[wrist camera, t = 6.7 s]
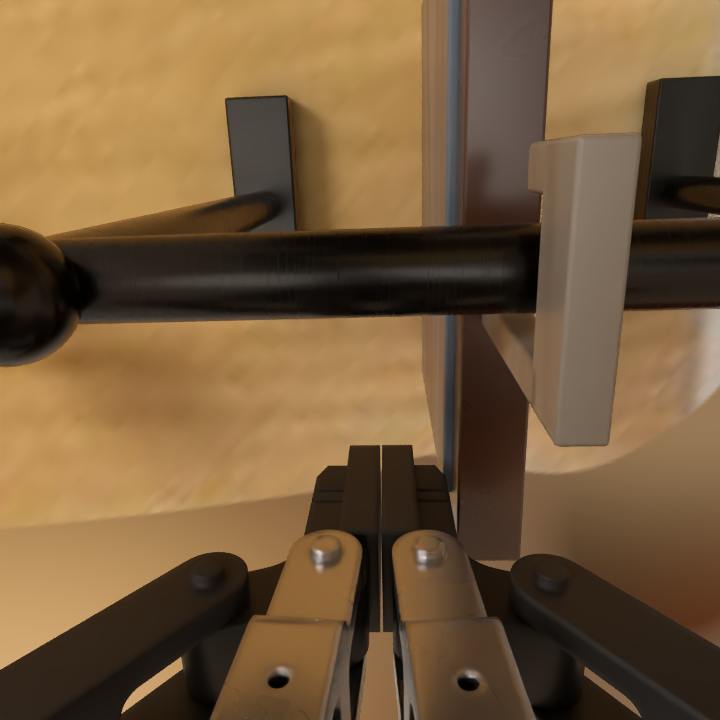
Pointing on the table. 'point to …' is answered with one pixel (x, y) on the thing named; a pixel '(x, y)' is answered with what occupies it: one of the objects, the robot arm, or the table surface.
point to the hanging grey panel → (556, 260)
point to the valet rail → (352, 245)
